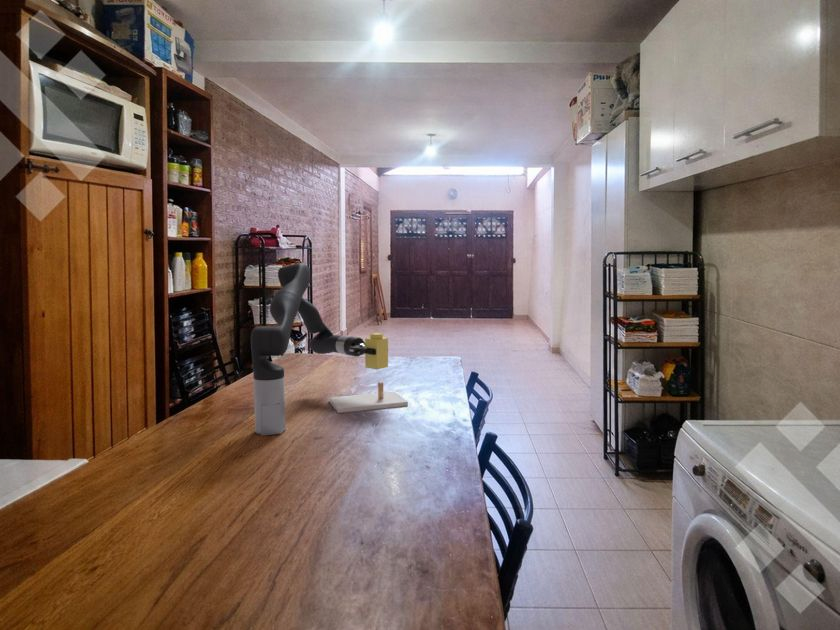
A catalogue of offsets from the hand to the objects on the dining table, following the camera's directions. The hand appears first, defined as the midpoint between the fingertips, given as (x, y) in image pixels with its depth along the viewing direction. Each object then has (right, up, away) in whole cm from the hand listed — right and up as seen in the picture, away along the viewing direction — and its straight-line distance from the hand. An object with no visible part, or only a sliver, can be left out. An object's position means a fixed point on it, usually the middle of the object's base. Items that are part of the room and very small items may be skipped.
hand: (381, 350), depth 195 cm
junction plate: (-5, -20, +2) cm, 21 cm away
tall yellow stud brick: (-2, -6, +2) cm, 7 cm away
